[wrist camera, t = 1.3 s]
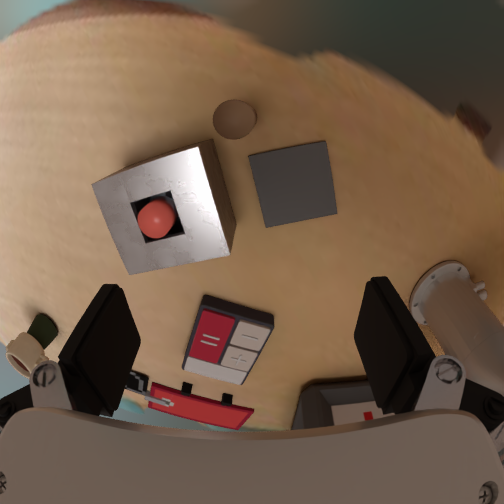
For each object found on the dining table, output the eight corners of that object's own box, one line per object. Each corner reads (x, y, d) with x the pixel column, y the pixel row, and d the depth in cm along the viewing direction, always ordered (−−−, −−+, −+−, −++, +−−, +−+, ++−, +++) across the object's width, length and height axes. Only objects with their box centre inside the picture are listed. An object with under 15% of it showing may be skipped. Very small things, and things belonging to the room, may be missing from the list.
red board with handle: (120, 358, 49) (120, 392, 56) (115, 369, 47) (116, 401, 54) (260, 398, 54) (238, 425, 61) (260, 409, 51) (237, 434, 58)
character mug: (34, 327, 48) (7, 366, 36) (26, 304, 45) (-6, 343, 33) (70, 343, 49) (44, 387, 37) (63, 319, 45) (32, 365, 34)
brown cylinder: (253, 102, 28) (249, 95, 18) (259, 127, 30) (259, 134, 19) (227, 108, 29) (208, 105, 18) (233, 133, 30) (218, 143, 20)
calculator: (275, 329, 39) (242, 389, 45) (274, 311, 43) (242, 371, 49) (200, 307, 38) (180, 372, 44) (204, 290, 41) (184, 355, 47)
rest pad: (324, 141, 30) (326, 141, 30) (336, 212, 34) (337, 213, 34) (248, 155, 31) (248, 156, 31) (265, 226, 35) (265, 227, 35)
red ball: (172, 191, 27) (163, 201, 25) (182, 222, 29) (175, 234, 26) (144, 200, 28) (132, 210, 25) (154, 229, 29) (145, 241, 27)
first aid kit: (378, 423, 60) (395, 501, 38) (288, 432, 61) (291, 519, 39) (414, 367, 49) (452, 465, 27) (301, 378, 49) (312, 501, 27)
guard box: (212, 138, 30) (198, 146, 23) (236, 224, 35) (230, 255, 28) (123, 167, 32) (91, 184, 25) (151, 243, 37) (129, 275, 30)
